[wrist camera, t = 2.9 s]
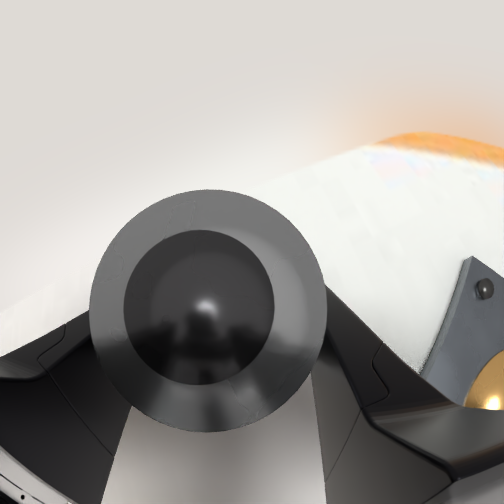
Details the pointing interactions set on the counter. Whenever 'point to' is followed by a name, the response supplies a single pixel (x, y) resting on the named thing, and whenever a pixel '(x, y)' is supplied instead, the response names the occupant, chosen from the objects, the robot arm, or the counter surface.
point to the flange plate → (471, 341)
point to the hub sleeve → (208, 310)
